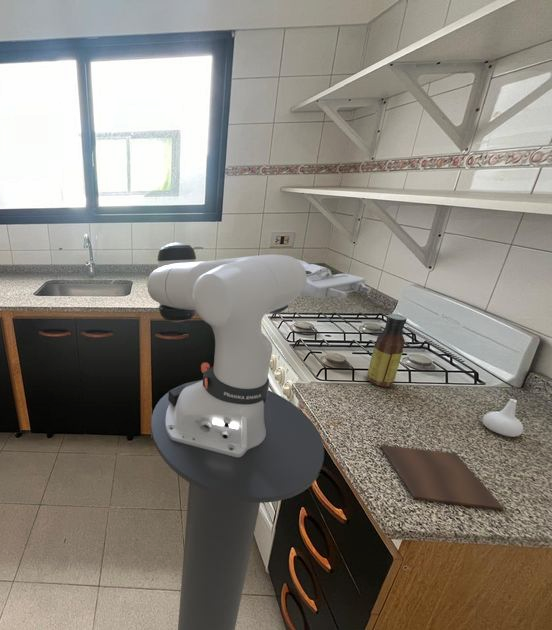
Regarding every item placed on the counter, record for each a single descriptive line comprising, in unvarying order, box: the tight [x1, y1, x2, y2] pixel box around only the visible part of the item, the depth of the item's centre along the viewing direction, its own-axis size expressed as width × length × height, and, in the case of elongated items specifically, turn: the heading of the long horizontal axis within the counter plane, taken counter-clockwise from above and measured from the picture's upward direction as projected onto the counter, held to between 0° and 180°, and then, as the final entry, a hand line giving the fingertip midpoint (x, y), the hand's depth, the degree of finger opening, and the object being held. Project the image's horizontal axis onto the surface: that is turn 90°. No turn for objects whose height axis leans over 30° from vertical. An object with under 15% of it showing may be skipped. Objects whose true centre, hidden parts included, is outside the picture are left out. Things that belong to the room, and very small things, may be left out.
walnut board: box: [380, 445, 505, 511], centre depth 67 cm, size 14×13×1 cm
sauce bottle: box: [366, 313, 408, 388], centre depth 92 cm, size 7×6×20 cm
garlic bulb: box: [482, 398, 524, 438], centre depth 77 cm, size 6×6×8 cm
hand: (357, 293), depth 98 cm, fingers open, 8 cm apart
